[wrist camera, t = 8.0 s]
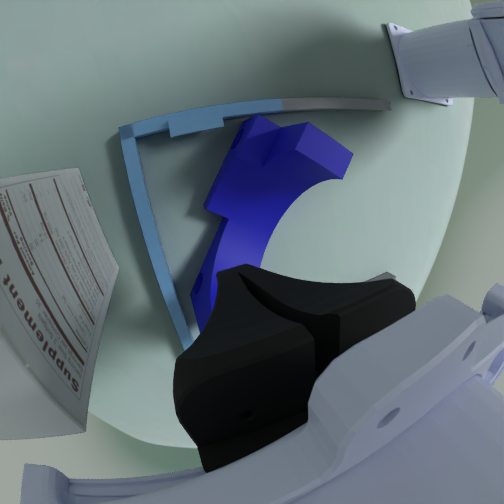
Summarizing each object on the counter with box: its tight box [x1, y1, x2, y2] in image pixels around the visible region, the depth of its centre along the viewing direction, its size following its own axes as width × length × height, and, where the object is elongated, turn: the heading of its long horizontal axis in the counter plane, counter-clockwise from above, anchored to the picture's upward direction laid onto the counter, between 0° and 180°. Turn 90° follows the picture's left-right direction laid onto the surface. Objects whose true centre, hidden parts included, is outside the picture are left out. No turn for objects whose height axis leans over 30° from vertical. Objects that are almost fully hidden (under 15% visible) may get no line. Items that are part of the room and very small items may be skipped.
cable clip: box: [190, 115, 353, 334], centre depth 15 cm, size 12×4×6 cm, turn 154°
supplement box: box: [0, 168, 119, 440], centre depth 9 cm, size 7×7×13 cm
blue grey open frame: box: [119, 97, 396, 350], centre depth 18 cm, size 20×17×2 cm
